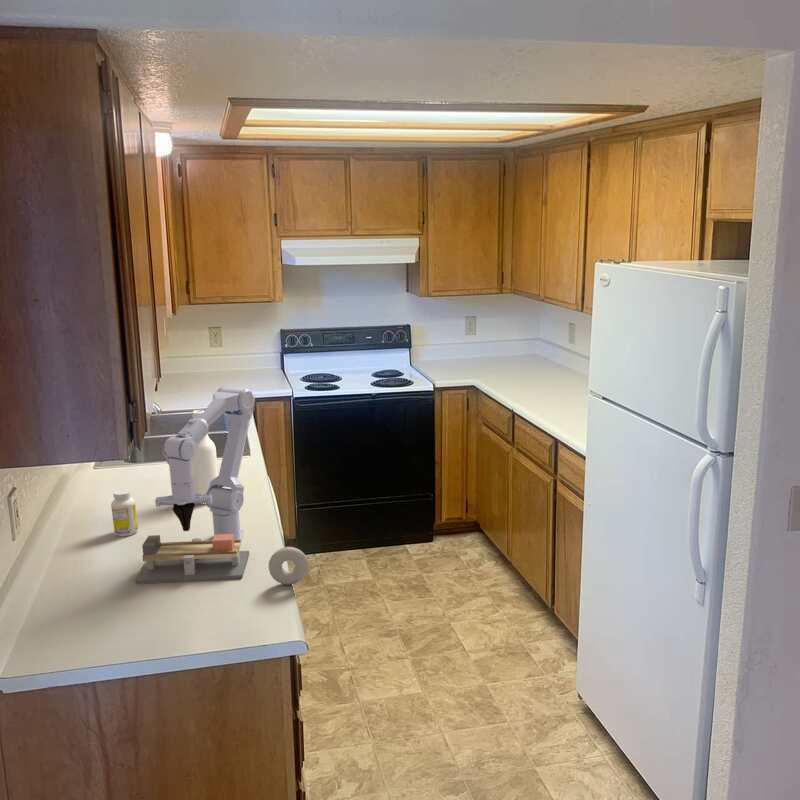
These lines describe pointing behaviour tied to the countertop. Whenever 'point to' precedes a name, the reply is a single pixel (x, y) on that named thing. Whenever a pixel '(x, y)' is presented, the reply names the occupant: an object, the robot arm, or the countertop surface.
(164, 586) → the countertop surface
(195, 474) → the alcohol
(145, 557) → the beam
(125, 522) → the supplement bottle
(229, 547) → the block
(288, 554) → the donut
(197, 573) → the tilt stand
